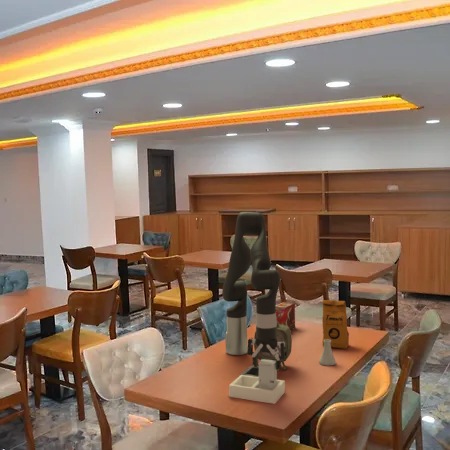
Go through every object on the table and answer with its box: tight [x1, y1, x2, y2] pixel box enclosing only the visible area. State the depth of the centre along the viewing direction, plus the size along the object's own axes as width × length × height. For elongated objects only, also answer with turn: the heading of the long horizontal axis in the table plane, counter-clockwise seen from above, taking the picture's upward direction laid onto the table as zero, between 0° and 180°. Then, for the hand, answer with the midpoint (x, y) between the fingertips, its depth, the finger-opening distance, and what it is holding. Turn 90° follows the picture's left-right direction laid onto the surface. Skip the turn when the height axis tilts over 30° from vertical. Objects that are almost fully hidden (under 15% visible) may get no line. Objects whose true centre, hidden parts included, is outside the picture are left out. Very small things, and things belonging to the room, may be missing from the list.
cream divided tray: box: [228, 374, 286, 405], centre depth 196 cm, size 18×11×4 cm, turn 65°
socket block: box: [239, 365, 259, 377], centre depth 210 cm, size 10×11×4 cm
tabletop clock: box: [253, 309, 293, 371], centre depth 224 cm, size 14×9×25 cm, turn 70°
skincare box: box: [258, 359, 278, 390], centre depth 194 cm, size 6×4×12 cm
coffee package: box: [321, 299, 350, 350], centre depth 250 cm, size 10×12×22 cm
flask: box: [318, 339, 337, 367], centre depth 228 cm, size 7×7×10 cm
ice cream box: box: [276, 301, 296, 331], centre depth 277 cm, size 20×6×13 cm, turn 147°
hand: (267, 368), depth 194 cm, fingers open, 8 cm apart
